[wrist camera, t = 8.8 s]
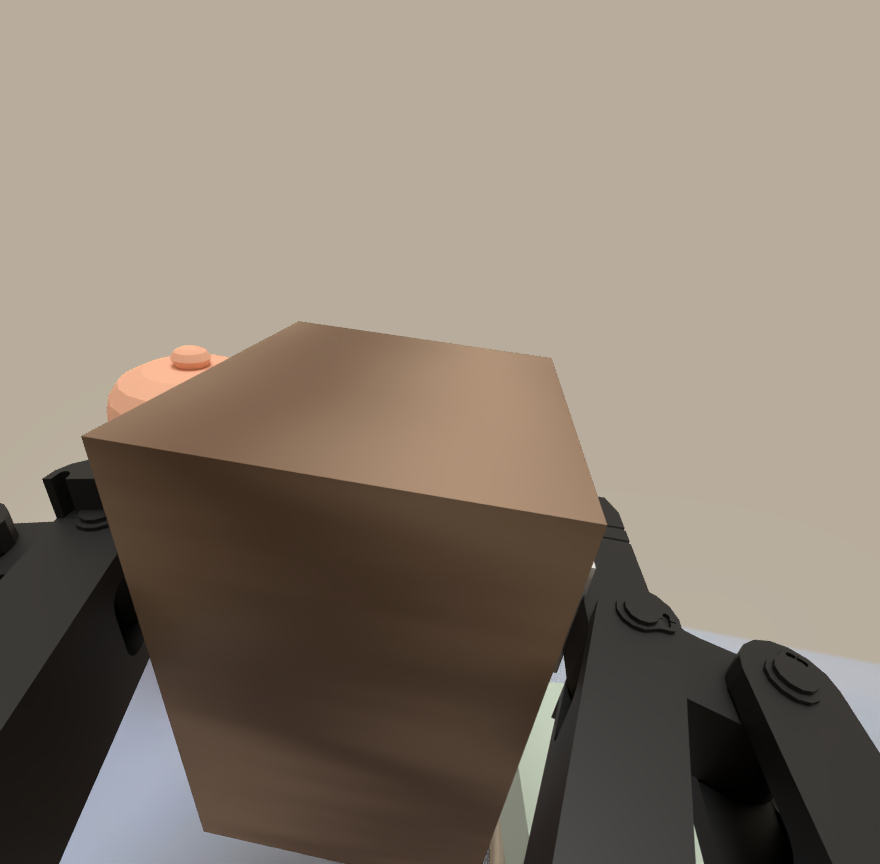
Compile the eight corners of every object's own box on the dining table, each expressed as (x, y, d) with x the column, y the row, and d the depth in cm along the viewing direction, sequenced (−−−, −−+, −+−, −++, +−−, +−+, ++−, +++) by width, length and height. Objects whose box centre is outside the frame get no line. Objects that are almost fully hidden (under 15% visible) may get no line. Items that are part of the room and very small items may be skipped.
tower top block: (683, 739, 22) (715, 692, 20) (852, 1097, 13) (936, 1070, 11) (490, 729, 21) (505, 679, 20) (531, 1100, 13) (565, 1072, 11)
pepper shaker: (315, 619, 30) (309, 349, 21) (224, 713, 24) (162, 393, 15) (240, 574, 32) (206, 318, 24) (141, 648, 27) (47, 344, 18)
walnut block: (483, 644, 15) (551, 358, 10) (471, 891, 9) (607, 525, 5) (310, 611, 15) (298, 321, 10) (203, 831, 10) (81, 436, 5)
